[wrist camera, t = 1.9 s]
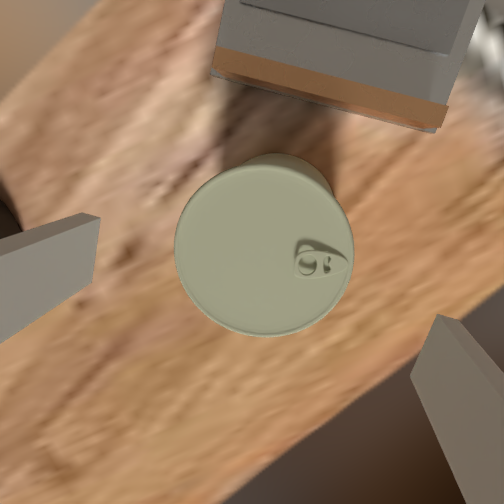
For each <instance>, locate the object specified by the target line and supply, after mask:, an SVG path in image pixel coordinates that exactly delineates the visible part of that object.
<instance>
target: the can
mask: <svg viewBox="0 0 504 504" xmlns="http://www.w3.org/2000/svg"><path fill="white" fill-rule="evenodd" d="M174 257H175V264H176V268H177V272H178V275H179V278H180V281H181V283H182V285H183V287H184V289H185V291H186V292H187V294H188V296H189V297H190V299H191V300H192V301H193V303H194V304H195V305H196V306H197V307H198V308H199V309H200V310H201V311H202V312H203V313H204V314H205V315H206V316H207V317H209V318H210V319H211V320H213V321H214V322H216V323H217V324H219V325H221V326H223V327H225V328H227V329H229V330H231V331H234V332H237V333H240V334H244V335H248V336H254V337H279V336H285V335H289V334H293V333H296V332H299V331H301V330H304V329H306V328H308V327H310V326H311V325H313V324H315V323H316V322H318V321H319V320H321V319H322V318H323V317H324V316H326V315H327V314H328V313H329V312H330V311H331V310H332V309H333V308H334V306H335V305H336V304H337V303H338V301H339V300H340V298H341V297H342V295H343V294H344V292H345V290H346V288H347V285H348V283H349V281H350V278H351V274H352V270H353V264H354V241H353V235H352V231H351V227H350V224H349V222H348V219H347V217H346V215H345V213H344V211H343V209H342V207H341V206H340V204H339V203H338V201H337V200H336V199H335V197H334V196H333V193H332V190H331V188H330V186H329V184H328V182H327V181H326V179H325V178H324V176H323V175H322V174H321V173H320V172H319V171H318V170H317V169H316V168H315V167H314V166H312V165H311V164H310V163H308V162H306V161H305V160H303V159H301V158H298V157H296V156H292V155H288V154H281V153H271V154H264V155H260V156H257V157H254V158H252V159H250V160H248V161H246V162H244V163H243V164H241V165H240V166H237V167H234V168H231V169H228V170H226V171H224V172H221V173H220V174H218V175H216V176H214V177H213V178H211V179H210V180H209V181H207V182H206V183H205V184H203V185H202V186H201V187H200V188H199V189H198V190H197V191H196V192H195V193H194V194H193V196H192V197H191V198H190V200H189V201H188V203H187V204H186V206H185V208H184V210H183V212H182V214H181V216H180V218H179V221H178V224H177V228H176V232H175V240H174Z"/></svg>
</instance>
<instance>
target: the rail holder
mask: <svg viewBox="0 0 504 504" xmlns="http://www.w3.org/2000/svg"><path fill="white" fill-rule="evenodd" d="M485 1H486V0H225V4H224V9H223V14H222V18H221V23H220V28H219V33H218V38H217V43H216V48H215V53H214V58H213V63H212V68H211V73H210V75H212V76H213V77H217V78H221V79H225V80H229V81H232V82H236V83H240V84H244V85H248V86H251V87H255V88H259V89H263V90H267V91H270V92H274V93H278V94H282V95H286V96H289V97H293V98H297V99H301V100H305V101H308V102H312V103H316V104H320V105H324V106H327V107H331V108H335V109H339V110H343V111H346V112H350V113H354V114H358V115H362V116H365V117H369V118H373V119H377V120H381V121H384V122H388V123H392V124H396V125H400V126H403V127H407V128H411V129H415V130H419V131H422V132H426V133H430V134H433V133H435V132H436V130H437V128H439V127H441V126H442V123H443V121H444V118H445V115H446V113H447V110H448V108H449V106H446V103H447V101H448V98H449V95H450V93H451V90H452V88H453V85H454V82H455V80H456V77H457V74H458V72H459V69H460V66H461V64H462V61H463V59H464V56H465V53H466V51H467V48H468V45H469V43H470V40H471V38H472V35H473V32H474V30H475V27H476V24H477V22H478V19H479V17H480V14H481V11H482V9H483V6H484V3H485Z"/></svg>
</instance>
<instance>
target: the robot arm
mask: <svg viewBox="0 0 504 504" xmlns="http://www.w3.org/2000/svg"><path fill="white" fill-rule="evenodd" d="M100 220H101V218H100V217H96V216H93V215H89V214H86V213H79V214H76V215H73V216H70V217H67V218H64V219H61V220H58V221H55V222H52V223H48V224H45V225H42V226H39V227H36V228H33V229H30V230H27V231H24V232H21V230H20V228H19V226H18V224H17V222H16V221H15V219H14V217H13V216H12V214H11V212H10V211H9V210H8V208H7V207H6V206H5V204H4V203H3V202H2V201H1V200H0V344H1V343H2V342H4V341H5V340H7V339H8V338H10V337H11V336H13V335H14V334H16V333H17V332H19V331H20V330H22V329H23V328H25V327H26V326H28V325H29V324H31V323H32V322H34V321H35V320H37V319H38V318H40V317H41V316H43V315H44V314H45V313H47V312H48V311H50V310H51V309H53V308H54V307H56V306H57V305H59V304H60V303H62V302H63V301H65V300H66V299H68V298H69V297H71V296H72V295H74V294H75V293H77V292H78V291H80V290H81V289H83V288H84V287H86V286H87V285H89V284H90V283H92V277H93V270H94V263H95V256H96V249H97V241H98V234H99V227H100ZM410 378H411V380H412V382H413V384H414V386H415V389H416V391H417V393H418V395H419V397H420V400H421V402H422V405H423V407H424V409H425V411H426V414H427V416H428V418H429V420H430V422H431V425H432V427H433V429H434V432H435V434H436V436H437V438H438V441H439V442H440V445H441V447H442V450H443V452H444V454H445V456H446V459H447V461H448V463H449V465H450V467H451V470H452V472H453V474H454V476H455V479H456V481H457V483H458V485H459V488H460V490H461V492H462V494H463V497H464V499H465V501H466V503H467V504H504V373H503V372H502V371H501V370H500V369H499V367H498V366H497V365H496V364H495V363H494V362H493V360H491V358H490V357H489V356H488V355H487V353H486V352H485V351H484V350H483V349H482V348H481V346H480V345H479V344H478V343H477V342H476V340H475V339H474V338H473V337H472V336H471V335H470V333H469V332H468V331H467V330H466V329H465V328H464V326H463V325H462V324H461V323H460V322H459V321H458V320H457V319H453V318H450V317H446V316H443V315H439V314H437V316H436V318H435V320H434V323H433V325H432V327H431V329H430V332H429V334H428V336H427V338H426V341H425V343H424V345H423V347H422V350H421V352H420V354H419V356H418V359H417V361H416V363H415V366H414V368H413V370H412V372H411V375H410Z"/></svg>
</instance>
